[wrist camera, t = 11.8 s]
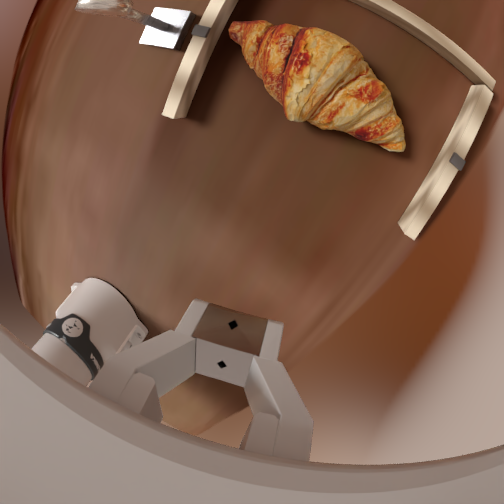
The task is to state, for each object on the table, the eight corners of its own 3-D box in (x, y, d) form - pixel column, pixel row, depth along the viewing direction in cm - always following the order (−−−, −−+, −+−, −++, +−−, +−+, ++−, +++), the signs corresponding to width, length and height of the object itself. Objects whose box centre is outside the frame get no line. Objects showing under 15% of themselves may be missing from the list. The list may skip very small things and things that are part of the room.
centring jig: (407, 229, 28) (415, 242, 25) (174, 113, 28) (159, 114, 25) (485, 82, 17) (500, 81, 14) (248, -40, 16) (240, -53, 13)
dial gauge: (179, 50, 24) (92, 28, 11) (146, 44, 24) (56, 28, 11) (196, 15, 21) (119, -28, 9) (161, 10, 21) (78, -22, 9)
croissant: (403, 125, 26) (445, 106, 18) (368, 189, 26) (413, 182, 19) (254, 23, 23) (262, -22, 15) (200, 76, 24) (192, 32, 16)
